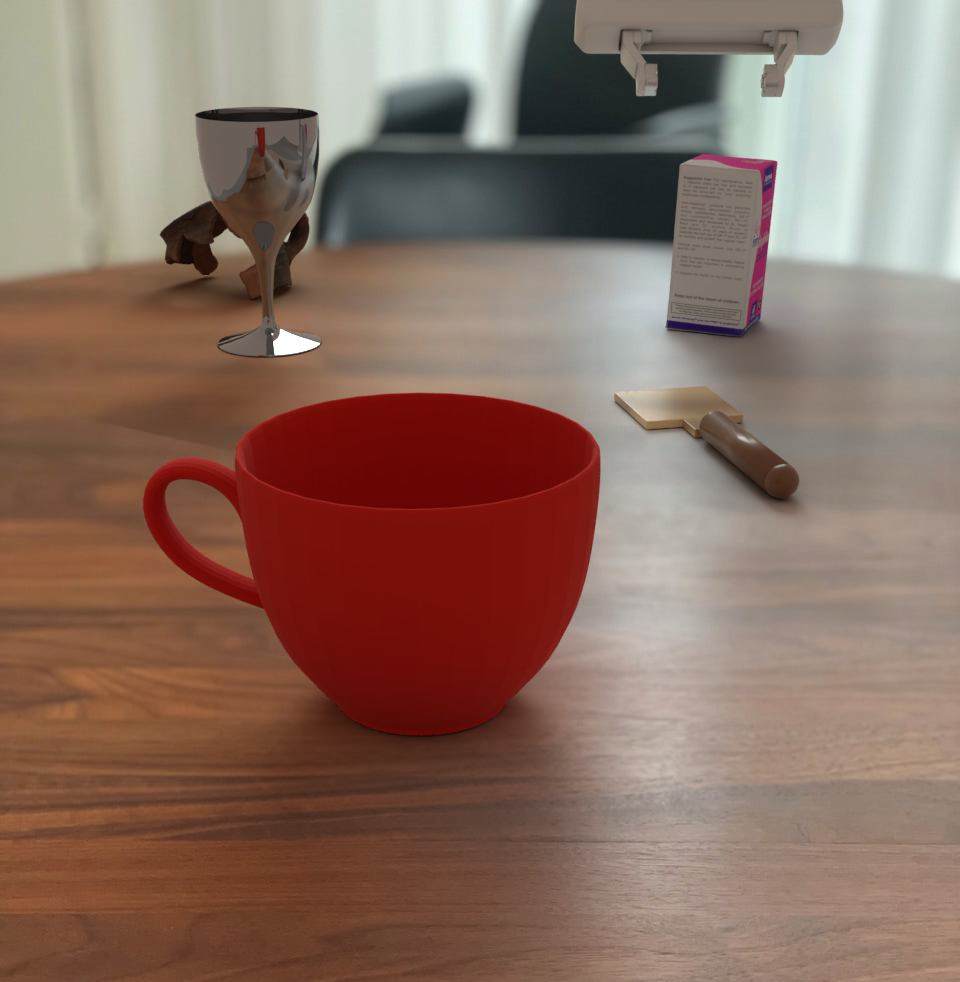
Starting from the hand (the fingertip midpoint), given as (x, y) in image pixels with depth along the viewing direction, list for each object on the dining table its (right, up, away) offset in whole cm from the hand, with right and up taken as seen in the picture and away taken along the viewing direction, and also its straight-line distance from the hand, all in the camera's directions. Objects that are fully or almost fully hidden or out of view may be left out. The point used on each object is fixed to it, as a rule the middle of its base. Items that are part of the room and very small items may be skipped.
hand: (710, 91), depth 112 cm
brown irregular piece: (-36, -13, +7) cm, 39 cm away
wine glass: (-32, -21, -8) cm, 39 cm away
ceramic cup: (-21, -43, -54) cm, 73 cm away
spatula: (-4, -30, -27) cm, 41 cm away
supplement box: (0, -18, -3) cm, 19 cm away
